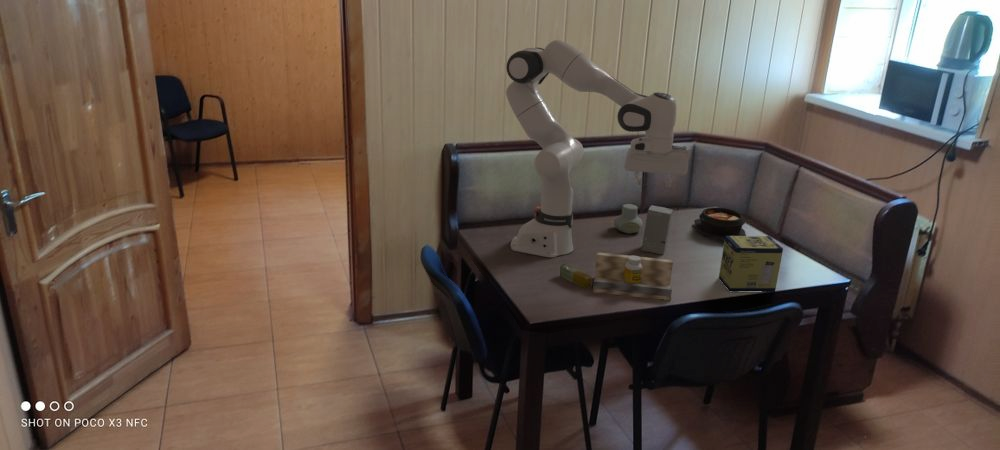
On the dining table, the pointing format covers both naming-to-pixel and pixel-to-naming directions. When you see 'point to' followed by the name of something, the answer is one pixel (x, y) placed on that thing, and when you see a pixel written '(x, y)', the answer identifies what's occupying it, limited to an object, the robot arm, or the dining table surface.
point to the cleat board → (651, 284)
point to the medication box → (575, 276)
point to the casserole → (720, 223)
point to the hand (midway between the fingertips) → (653, 185)
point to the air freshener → (628, 219)
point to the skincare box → (657, 229)
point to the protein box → (750, 263)
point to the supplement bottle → (633, 270)
